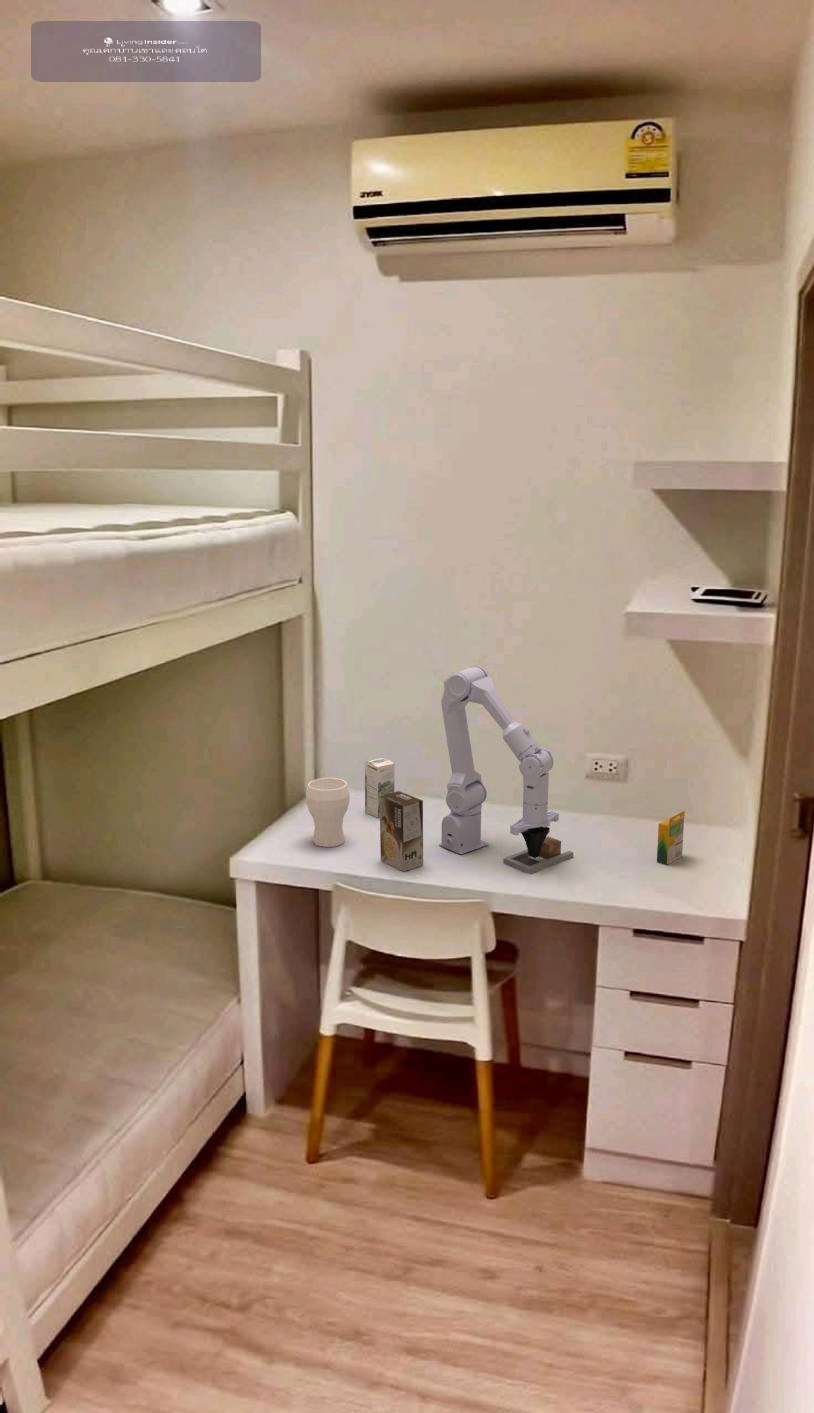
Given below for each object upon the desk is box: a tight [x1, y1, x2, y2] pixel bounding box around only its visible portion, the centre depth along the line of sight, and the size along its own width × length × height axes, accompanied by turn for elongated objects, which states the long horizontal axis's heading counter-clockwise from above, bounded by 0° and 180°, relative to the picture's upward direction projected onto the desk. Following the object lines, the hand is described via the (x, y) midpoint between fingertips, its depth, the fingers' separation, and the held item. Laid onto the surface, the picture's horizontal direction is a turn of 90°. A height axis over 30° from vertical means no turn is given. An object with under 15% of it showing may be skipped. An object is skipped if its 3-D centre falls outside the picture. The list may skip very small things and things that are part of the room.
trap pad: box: [518, 856, 541, 866], centre depth 235 cm, size 4×5×1 cm
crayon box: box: [656, 810, 686, 866], centre depth 236 cm, size 7×3×12 cm, turn 137°
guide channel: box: [502, 849, 574, 875], centre depth 237 cm, size 15×8×1 cm, turn 131°
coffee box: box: [379, 790, 424, 872], centre depth 234 cm, size 9×6×16 cm
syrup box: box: [364, 757, 396, 819], centre depth 266 cm, size 6×6×14 cm
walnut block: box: [538, 835, 562, 860], centre depth 239 cm, size 4×4×4 cm
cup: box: [305, 777, 350, 848], centre depth 247 cm, size 11×11×15 cm
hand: (533, 856), depth 236 cm, fingers closed
